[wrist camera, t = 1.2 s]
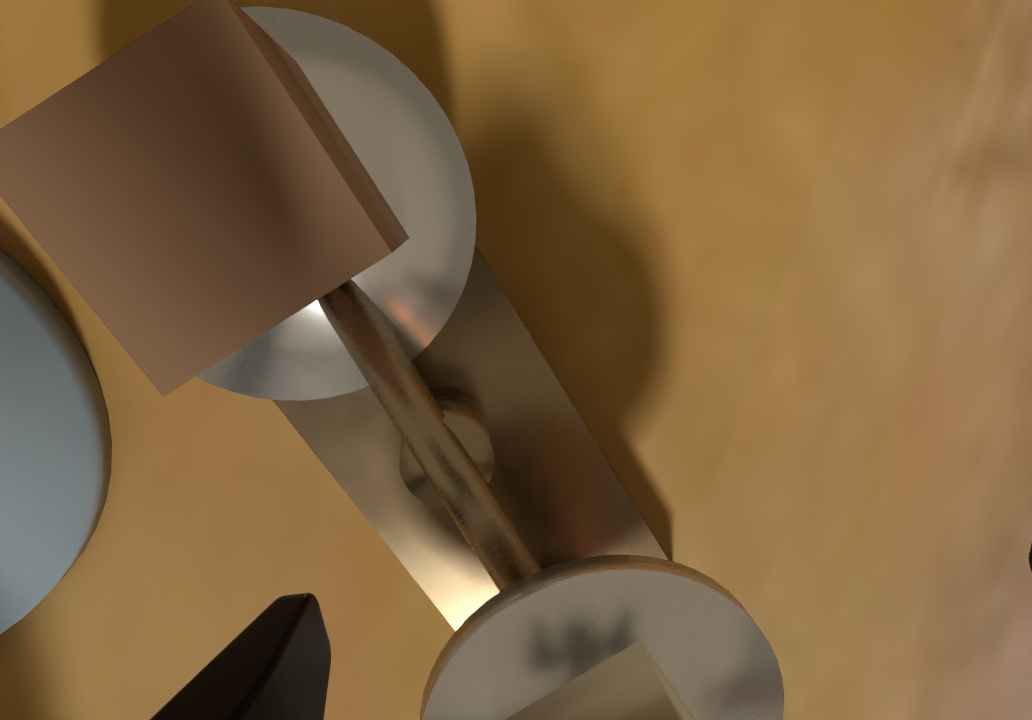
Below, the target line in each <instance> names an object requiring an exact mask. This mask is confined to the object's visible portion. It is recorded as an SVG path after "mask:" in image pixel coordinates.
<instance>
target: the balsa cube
mask: <svg viewBox="0 0 1032 720" xmlns="http://www.w3.org/2000/svg"><path fill="white" fill-rule="evenodd" d="M505 720H695V718H694V717H693V715H692V714H691V712H690V711H689V709H688V708H687V706H686V705H685V703H684V702H683V700H682V699H681V697H680V696H679V694H678V693H677V691H676V690H675V688H674V687H673V685H672V684H671V682H670V681H669V679H668V678H667V676H666V675H665V673H664V672H663V670H662V669H661V667H660V666H659V664H658V663H657V661H656V660H655V658H654V657H653V655H652V654H651V652H650V651H649V649H648V648H647V646H646V645H645V643H644V642H643V640H642V639H641V640H639V641H637V642H636V643H634V644H632V645H630V646H629V647H627V648H625V649H624V650H622V651H620V652H619V653H617V654H615V655H614V656H612V657H610V658H609V659H607V660H605V661H603V662H602V663H600V664H598V665H597V666H595V667H593V668H592V669H590V670H588V671H587V672H585V673H583V674H581V675H580V676H578V677H576V678H575V679H573V680H571V681H570V682H568V683H566V684H565V685H563V686H561V687H560V688H558V689H556V690H554V691H553V692H551V693H549V694H548V695H546V696H544V697H543V698H541V699H539V700H538V701H536V702H534V703H533V704H531V705H529V706H527V707H526V708H524V709H522V710H521V711H519V712H517V713H516V714H514V715H512V716H511V717H509V718H507V719H505Z"/></svg>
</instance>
